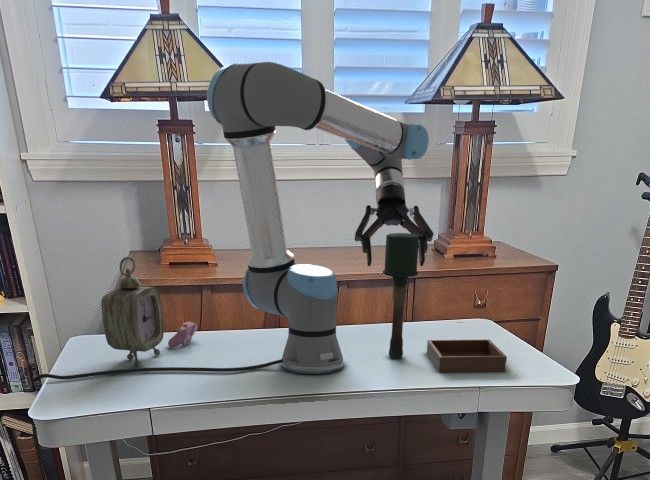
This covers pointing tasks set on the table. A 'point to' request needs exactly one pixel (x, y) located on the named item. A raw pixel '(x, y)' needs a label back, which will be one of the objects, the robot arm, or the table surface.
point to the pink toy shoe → (183, 335)
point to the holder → (466, 356)
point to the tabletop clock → (133, 316)
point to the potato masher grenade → (400, 280)
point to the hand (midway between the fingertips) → (396, 262)
